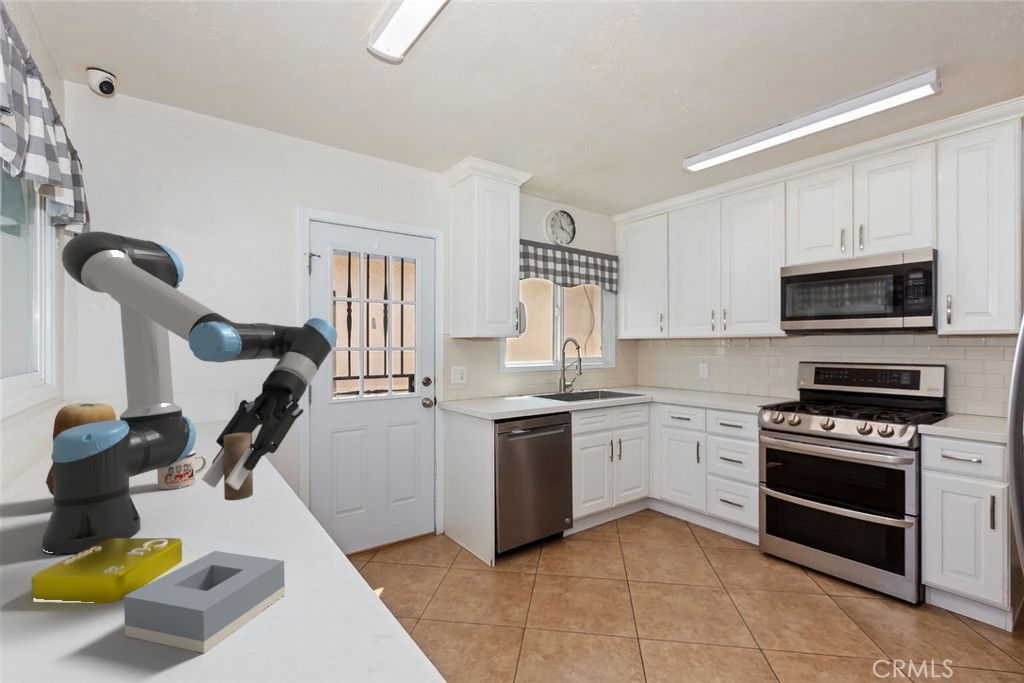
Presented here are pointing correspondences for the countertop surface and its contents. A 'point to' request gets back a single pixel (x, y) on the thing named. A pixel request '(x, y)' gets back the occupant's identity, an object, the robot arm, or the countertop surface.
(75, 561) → the element tile
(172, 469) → the enamel mug
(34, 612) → the countertop surface
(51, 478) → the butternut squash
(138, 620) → the socket block
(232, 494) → the pin
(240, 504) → the countertop surface
